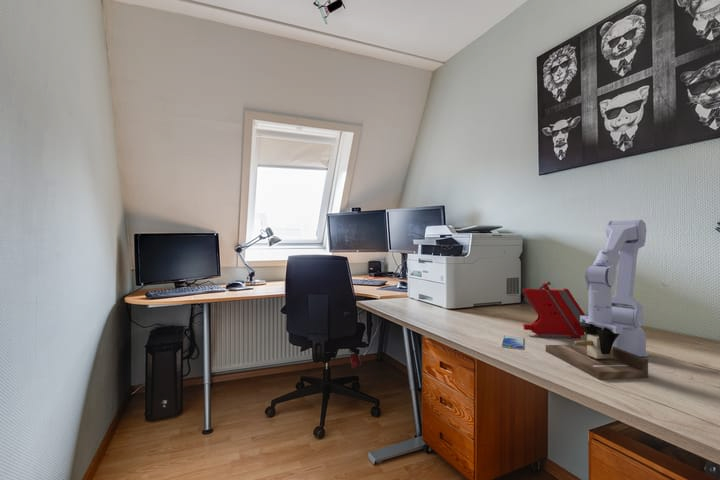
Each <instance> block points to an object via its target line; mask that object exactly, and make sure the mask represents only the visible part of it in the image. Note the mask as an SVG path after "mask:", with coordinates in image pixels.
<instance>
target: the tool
mask: <svg viewBox="0 0 720 480" xmlns="http://www.w3.org/2000/svg"><path fill="white" fill-rule="evenodd" d="M551 285H552V283H551V281H547V282H544V283H542V284H541V286H539V287H538V288H523V289H522V292H523V294H524V296H525V297H526V299H527V300H528V302H529V303H530V305H531V306H532V308H533V310H534V312H535V313H536V314H537V318H536V319H535V320H534V321H533V322H531V323H523V325H522V326H523V330H524V331H531V332H532V333H534V334H535V335H536V336H538V337H539V338H554V339H556V338H558V339H559V338H561V339H571V338H579V339H581V336H582V335H585V336H586V334H585V332H584V330H583V328H582V325H585V324H586V323H585V322H580V316H586V314H585V313H584V311H583V310H582V308H581V307H580V305H579V304H578V302H577V301H576V299H575V298H574V296H573V294H572V293H571V291H570V290H569V289H568V288H563V289H553V288H550V287H549V286H551Z"/></svg>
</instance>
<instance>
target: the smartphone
mask: <svg viewBox="0 0 720 480" xmlns="http://www.w3.org/2000/svg"><path fill="white" fill-rule="evenodd" d="M500 346H501V348H506V349H511V350H512V349H513V350H521V351H524V350H525V338H524V337H519V336H513V335H512V336H511V335H504V336H503V338H502V341H501V345H500Z"/></svg>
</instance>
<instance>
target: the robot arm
mask: <svg viewBox="0 0 720 480" xmlns="http://www.w3.org/2000/svg"><path fill="white" fill-rule="evenodd" d="M605 234H606V237H607V241H606V245H605V247H604V248H603V249H600V250H599V252H598V254H597V255H596V257H595V259H594V261H593V264H592V265H590V266H589V267H587V268H586V269H585V273H584V281H585V284H586V286H585V287H586V289H587V291H588V298H587V299H588V306H587V307H588V309H587V310H588V315H585V316H580V322H585V323H586V324H585V325H582V328H583V330H584V333H585V335H586V336H587V335H590V334H598V336H599V340H600V348H601V353H602V354H610V351H611V348H612V345H613V346H614V347H617V348H619V349H622V350H624V351H627V352H630V353H632V354H635V355H637V356H640V357H649V354H647V337H646V333H645V331H644V329H643V328H642V327H641V326H642V325H643V323H644V312H643V311H644V309H643V308H644V306H643V305H642V303H641V302H640V301H639V300H636V298H634V289H635V279H636V271H637V259H638V258H637V257H638V254H639V253H638V252H639V249H640V248H643V247H645V243H646V239H647V238H646V237H647V225H646V222H645V221H644V220H643V219H636V220H630V219H629V220H609V221H608V222H607V223H606V226H605ZM616 269H617V271H616ZM614 285H615V292H614V295H613V296H612V293H613V292H612V286H614Z"/></svg>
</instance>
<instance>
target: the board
mask: <svg viewBox="0 0 720 480" xmlns="http://www.w3.org/2000/svg"><path fill="white" fill-rule="evenodd" d="M585 335H586V334H585ZM585 335H582V336H581V338H580V341H587V336H585ZM545 352H547V353H549V354H551V355H552V356H554V357H556V358H558V359H560V360H561V361H564V362H565V363H568V364H570V366H573V367H575V368H577V369H579V370H580V371H583V372H584V373H585V374H588V375H589V376H591V377H593V378H595V379H598V380H623V379H625V380H626V379H648V378H649V359H648V358H646V357H644V356H637V355H635V354H632V353H630V352H627V351H624V350H622V349H619V348H617V347H614V346H613V358H603V359H596V358H594V357H592V356H590V355H588V354H587V346H575V344H545Z"/></svg>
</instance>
